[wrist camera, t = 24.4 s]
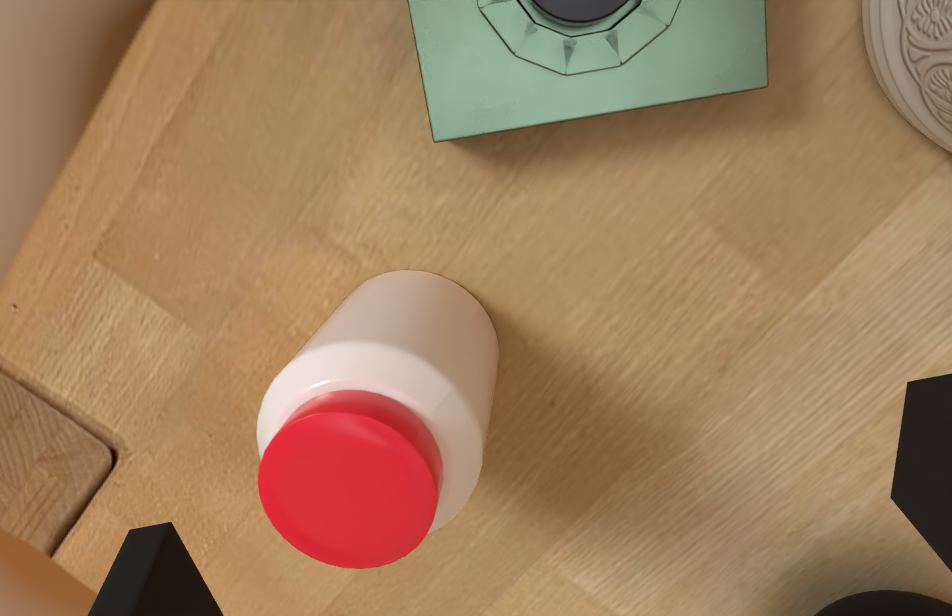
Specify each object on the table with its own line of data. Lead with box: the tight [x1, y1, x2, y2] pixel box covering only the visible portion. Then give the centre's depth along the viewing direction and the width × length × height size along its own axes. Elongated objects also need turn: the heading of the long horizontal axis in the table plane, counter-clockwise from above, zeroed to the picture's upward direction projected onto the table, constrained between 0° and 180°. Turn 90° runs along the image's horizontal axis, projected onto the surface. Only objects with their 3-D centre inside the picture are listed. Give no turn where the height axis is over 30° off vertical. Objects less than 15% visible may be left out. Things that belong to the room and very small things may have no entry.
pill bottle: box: [256, 270, 499, 569], centre depth 26 cm, size 8×8×11 cm
